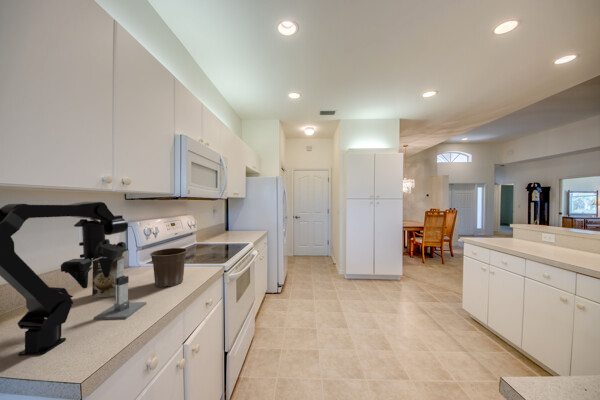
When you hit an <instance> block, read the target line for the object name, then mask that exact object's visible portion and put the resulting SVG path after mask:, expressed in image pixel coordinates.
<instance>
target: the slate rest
mask: <svg viewBox="0 0 600 400" xmlns="http://www.w3.org/2000/svg"><path fill="white" fill-rule="evenodd" d="M146 305H147V301H133V302H130V301H129V308H128V309H125V310H123V311H121V312H119V311H115V310H114V304H113V305H112V306H109V307H108V308H106V309H105V310H103V311H102V312H100V313H98V314H97V315H95V316H94V317H93V321H95V320H121V319H122V320H123V319H128V318H130V317H131V316H132V315H134V313H136V312H137V311H139V310H140V309H141V308H143V307H144V306H146Z"/></svg>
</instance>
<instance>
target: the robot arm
mask: <svg viewBox="0 0 600 400" xmlns="http://www.w3.org/2000/svg"><path fill="white" fill-rule="evenodd" d="M60 217H61V218H62V217H72V218H77V219H79V220H78V221H77V222H76V223H75V224H74V225H73V226H74V228H81V233H82V241H80V242H79V243H78V246H81V247H82V249H83V252H82V254H79V258H72V259H69V260H65V261H64V262H62V263H61V264H60V272H63V273H65V274H69V275H70V276H71V277H72V278H73V279H74V280H75V281H76V282H77V284H78V285H79V286H80V287H81V288H82V289H88V285H89V272H90V271H91V270H93V261H96V260H99V263H100V266H101V269H102V272H103V274H104V277H109V274H110V271H111V268H112V265H113V263H114V261H115V260H116V259H117V258H119V257H122V256H123V255H124V253H125V252H126V251H127V244H126V242H124V241H119V242H117V243H111V242H110V241H111V240H109V238H106V236H111V235H116V234H120V233H124V232H126V231H127V230H128V228H129V226H128V225H129V224H128V222H127V221H126V219H125V218H124V217H123V215H122V214H121V215H120V214H119V215H118V214H117V215H115V214H113V213H112V211H110V209H109V207H108V205H107V204H106V203H105V202H102V201H82V202H75V203H71V204H29V203H28V204H27V203H8V204H4V206H2V207H0V277H1V278H2V279H3V280H4V281H5V282H6V283H8V284H9V285H10V286H11V287H12V288H13V289H14V290H16V291H17V293H19V294H20V295H21V296H22V297H23V298H24V299H25V303H26V304H25V305H26V306H25V307H26V309H27V312H25V314H24V315H23V317H21V319H19V321H18V322H17V323H16V324H17V326H18V327H19V329H20V330H26V331H24V349H23V350H21V351H19V352H18V356H31V355H32V356H33V355H35V356H36V355H44V354H46V353H47V352H49V351H51V350H53V348H56V347H58V345H60V344H62V343H63V342H65V341H67V338H66V337H62V325H63V324H65V323H66V322H67V320H68V316H69V314H70V312H71V309H72V305H73V304H74V301H73V299H72V298H73V297H74V295H71V294H69V292H68V290H67V289H66V288H65V287H54V286H53V287H52V286H49V285H48V284H47V283H46V282H45V281H44V280H43V279H42V278H41V277H40V276H39V275H38V274H37V273H36V272H35V271H34V270H33V269H32V268H31V267H30V266H29V265H28V264H27V263H26V262H25V261H24V260H23V259H22V258H21V257H20V256H19V255H18V254H17V253H16V251H15V241H14V240H13V237H12V236H14V235H15V234H16V233H18V231H20V229H21V228H22V227H23V224H25V222H26V221H27V220H29V219H35V218H60Z"/></svg>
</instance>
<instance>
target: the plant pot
mask: <svg viewBox="0 0 600 400" xmlns="http://www.w3.org/2000/svg"><path fill="white" fill-rule="evenodd" d="M187 253H188V249H187V248H182V247H171V248H168V247H167V248H163V249H157V250H154V251H151V252H150V253H149V256H151V257H150V258H151V262H152V266H153V277H154V285H155V287H157V288H167V287H168V288H170V287H174V286H178V285H179V284H182V283H183V281H184V275H185V274H184V273H185V262H186V261H185V260H186V258H187Z"/></svg>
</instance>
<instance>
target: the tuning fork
mask: <svg viewBox="0 0 600 400" xmlns="http://www.w3.org/2000/svg"><path fill="white" fill-rule="evenodd" d="M129 278H130V277H129V276H128V275H123V276H121V277H118V278H115V285H116V296H115V303H114V304H113V305H114V310H115V311H119V312H121V311H123V310H125V309H128V308H129V302H130V301H129Z"/></svg>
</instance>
